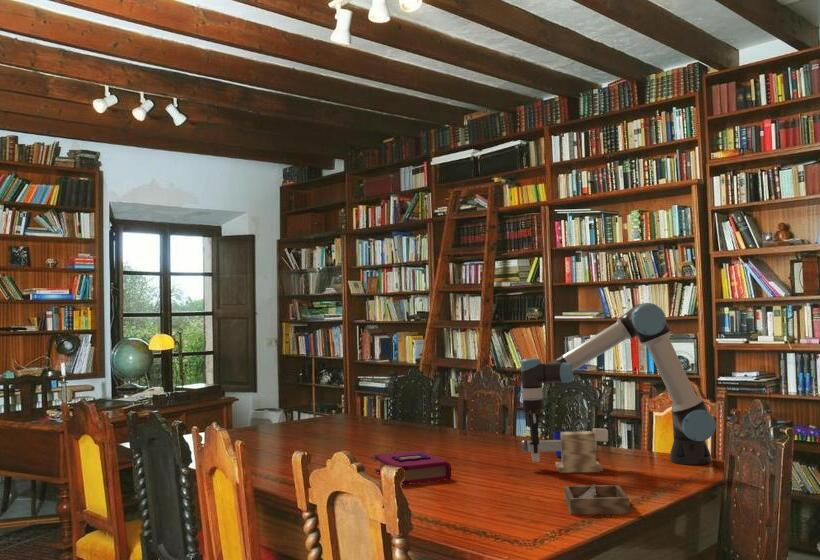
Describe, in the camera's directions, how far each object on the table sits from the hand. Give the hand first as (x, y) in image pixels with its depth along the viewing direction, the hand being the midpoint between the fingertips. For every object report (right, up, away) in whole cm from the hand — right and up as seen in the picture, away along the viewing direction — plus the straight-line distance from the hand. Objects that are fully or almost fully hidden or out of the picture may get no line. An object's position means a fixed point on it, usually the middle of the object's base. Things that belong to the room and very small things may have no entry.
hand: (535, 460), depth 285 cm
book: (-48, -6, -3) cm, 48 cm away
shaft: (+9, +4, -1) cm, 10 cm away
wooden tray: (+9, 0, -58) cm, 59 cm away
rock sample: (+6, -1, -56) cm, 57 cm away
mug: (+18, -4, +22) cm, 29 cm away
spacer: (+24, +8, -2) cm, 26 cm away
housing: (+16, -3, -2) cm, 16 cm away
